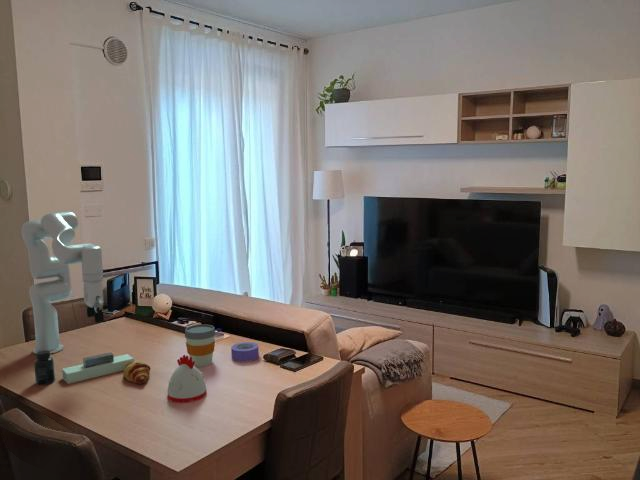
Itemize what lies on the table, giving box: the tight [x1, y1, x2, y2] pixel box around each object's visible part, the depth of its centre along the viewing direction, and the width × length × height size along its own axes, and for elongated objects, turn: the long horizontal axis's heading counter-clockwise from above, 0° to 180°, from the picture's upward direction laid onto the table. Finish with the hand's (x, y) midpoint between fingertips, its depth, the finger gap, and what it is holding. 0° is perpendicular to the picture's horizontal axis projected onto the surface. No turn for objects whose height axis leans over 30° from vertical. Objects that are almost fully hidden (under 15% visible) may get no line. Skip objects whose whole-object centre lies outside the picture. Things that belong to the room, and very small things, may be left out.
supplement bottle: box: [33, 350, 56, 386], centre depth 213 cm, size 7×7×12 cm
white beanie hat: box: [167, 354, 208, 404], centre depth 200 cm, size 14×14×15 cm
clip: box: [82, 352, 115, 368], centre depth 222 cm, size 3×11×7 cm, turn 128°
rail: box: [61, 353, 135, 385], centre depth 222 cm, size 7×26×4 cm, turn 129°
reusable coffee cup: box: [184, 324, 216, 368], centre depth 232 cm, size 13×13×15 cm
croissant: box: [122, 361, 151, 385], centre depth 217 cm, size 21×10×8 cm, turn 32°
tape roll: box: [230, 341, 260, 363], centre depth 239 cm, size 12×12×5 cm
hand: (95, 319), depth 219 cm, fingers open, 9 cm apart
